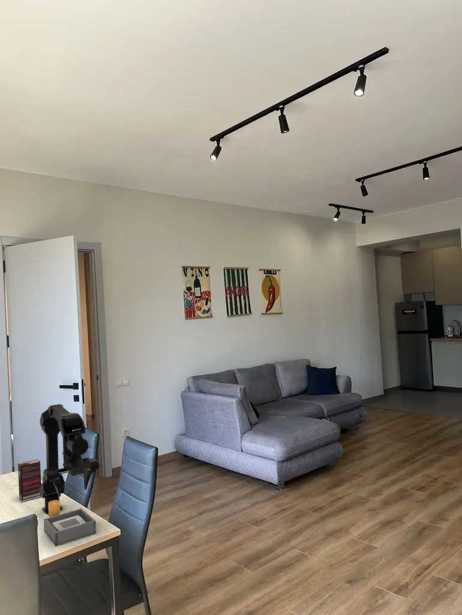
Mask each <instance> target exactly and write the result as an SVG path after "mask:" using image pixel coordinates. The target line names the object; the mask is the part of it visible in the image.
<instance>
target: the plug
mask: <svg viewBox="0 0 462 615" xmlns="http://www.w3.org/2000/svg"><path fill="white" fill-rule="evenodd" d="M60 506H61V502H60V501H59V500H53V501H50V502H49V503H48V508H49V513H48V518H49V517H52V516H56V515H59V514H61V510H60Z"/></svg>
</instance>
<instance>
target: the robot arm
mask: <svg viewBox="0 0 462 615" xmlns="http://www.w3.org/2000/svg"><path fill="white" fill-rule="evenodd" d="M39 425H40V428H41V430H42V432H43V433H44V435H45V452H46V453H45V454H46V455H45V456H46V457H45V458H46V459H45V460H46V468H45V469H44V470H43V472H42V474H43V476H42V481H41V487H40V490H39V491H40V496H41V497H40V498H42V499H44V507H42V508H41V509H42V511H43V512H44V513H45V514H46V515H49V508H48V503H49V502H50V501H53V500H59V501H60V497H61V496H62V494H64V493H65V488H66V481H65V478H64V476H63V474H67V473H69V474H70V475H71V476H72V477H75V476H77V475H83V487H84V490H85V491H86V490H88V486H89V482H90V480H91V477H92V475H93V474H94V473H95V472H97V470H98V469H99V470H100V467H101V466H100V465H101V464H100V461H99V460H97V459H95V458H93V457H92V458H90V457H89V456H88V457H85V458H84V457H83V458H82V455H84V454H86V453H87V452H88V450H89V442H88V441H87V440H86V439H85V438H84V437H83V434H86V428H87V427H86V426H85V422H84V420H83V418H82V415H80V414H79V413H78V412H70V411H69V410H67V409H66V408H65V407H64V405H63V404H61V403H57V404H51V405H49V406H48V408H47V409H46V410H45V411H43V412H42V413H41V415H40V418H39ZM59 434H61V437H62V452H61V453H62V456H63V457H62V461H63V462H62V468H60V467H59V464H60V463H59ZM63 509H64V508H63V507H62V505H60V511H61V510H63Z"/></svg>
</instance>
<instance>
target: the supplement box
mask: <svg viewBox="0 0 462 615" xmlns="http://www.w3.org/2000/svg"><path fill="white" fill-rule="evenodd" d="M17 473H18V474H17V477H18V478H17V480H18V499H19V501H20V502H21V503H24V502H28V501H29V502H30V501H32V500H35V499H39V498H42V497H41V496H40V491H39V490H40V487H41V484H42V474H41V473H42V470H41V461H40V460H39V459H34V460H33V459H32V460H28V461H25V462H24V461H23V462H19V463H17Z"/></svg>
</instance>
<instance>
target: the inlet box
mask: <svg viewBox="0 0 462 615" xmlns="http://www.w3.org/2000/svg"><path fill="white" fill-rule="evenodd" d="M43 531H44V534H46V536H47V537H48V538H49V540H50V541H51V542H52V544H53V545H54V546H55V547H58V546H59V547H60V546H62V545H65V544H68V543H71V542H74V541H78V540H80V539H83V538H86V537H89V536H92V535H95V534H97V524H96V520H95V519H94V518H93V517H92V516H91V515H90V514H89V513H88V512H87V511H85V509H83V508H82V507H81V508H76V509H74V510H70V511H67V512H64V513H60V514H59V515H56V516H52V517H49V516H48V517H45V518H43Z"/></svg>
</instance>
